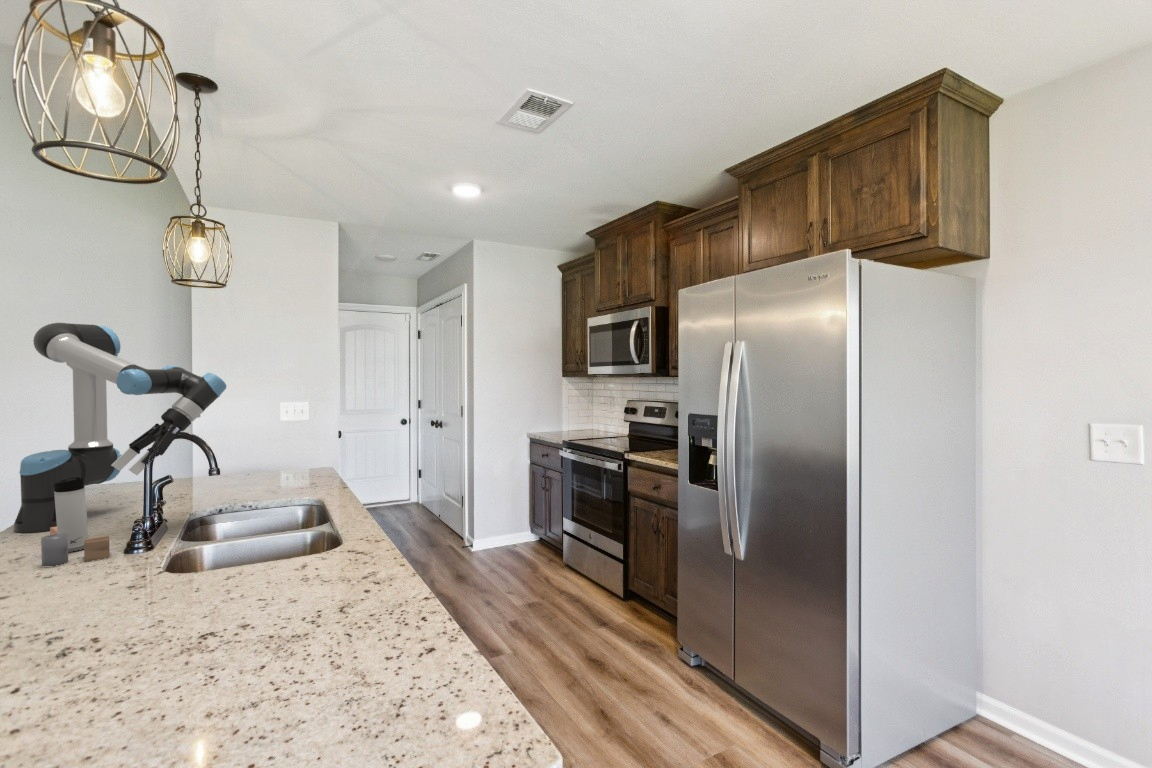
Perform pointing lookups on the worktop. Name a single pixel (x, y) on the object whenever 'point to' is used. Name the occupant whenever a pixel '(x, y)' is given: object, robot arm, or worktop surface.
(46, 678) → the worktop surface
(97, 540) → the walnut block
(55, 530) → the terracotta brick
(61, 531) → the travel mug
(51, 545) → the grey cylinder
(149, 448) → the robot arm
